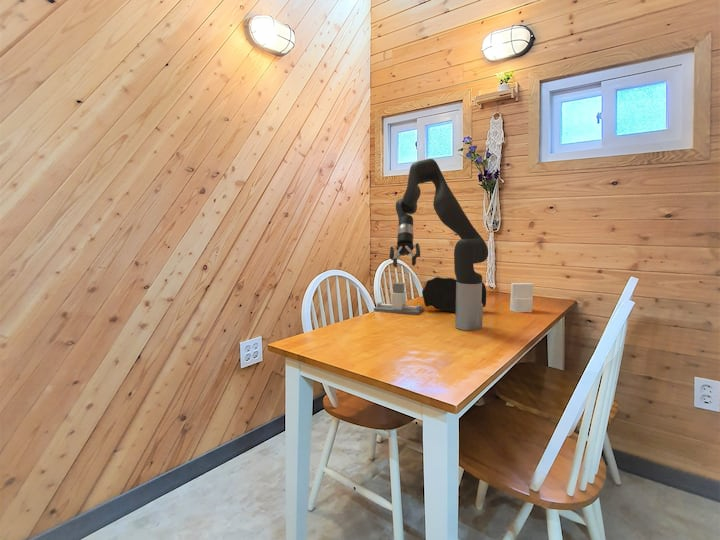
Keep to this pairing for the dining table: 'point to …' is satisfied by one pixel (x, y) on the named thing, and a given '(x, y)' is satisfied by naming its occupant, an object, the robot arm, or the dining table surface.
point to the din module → (398, 296)
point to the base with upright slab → (521, 297)
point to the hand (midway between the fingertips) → (404, 266)
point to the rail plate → (405, 310)
